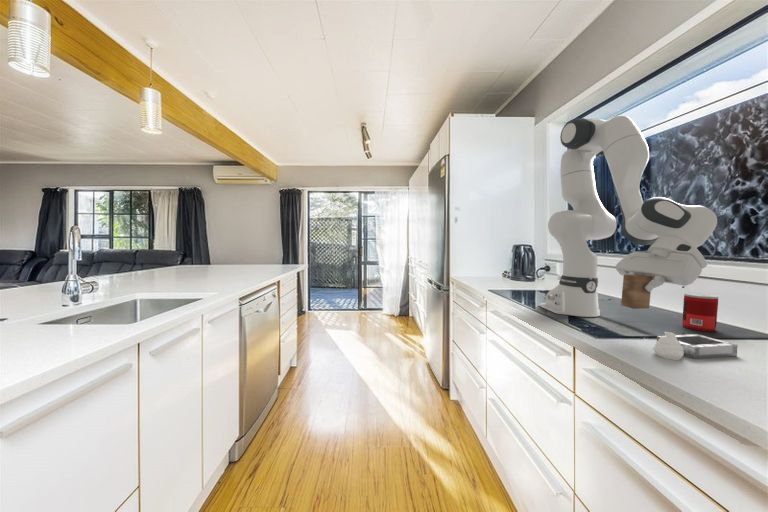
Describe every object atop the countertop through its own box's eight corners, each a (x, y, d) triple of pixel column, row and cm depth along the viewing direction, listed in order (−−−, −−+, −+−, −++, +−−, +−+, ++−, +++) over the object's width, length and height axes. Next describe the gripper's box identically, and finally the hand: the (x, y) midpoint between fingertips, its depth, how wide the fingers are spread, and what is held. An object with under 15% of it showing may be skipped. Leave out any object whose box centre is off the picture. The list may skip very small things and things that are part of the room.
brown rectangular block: (621, 305, 94) (623, 274, 93) (635, 304, 95) (638, 274, 94) (634, 308, 90) (636, 276, 89) (649, 308, 91) (652, 276, 90)
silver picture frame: (656, 346, 87) (657, 336, 87) (696, 344, 89) (696, 334, 89) (693, 358, 78) (694, 347, 78) (736, 356, 81) (737, 344, 80)
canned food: (722, 332, 102) (725, 297, 101) (692, 330, 103) (695, 296, 103) (704, 326, 109) (706, 293, 109) (676, 324, 111) (678, 292, 110)
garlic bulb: (676, 330, 81) (690, 336, 76) (675, 354, 82) (688, 361, 76) (650, 328, 83) (662, 334, 78) (649, 351, 83) (661, 359, 78)
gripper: (628, 243, 103) (599, 274, 102) (703, 247, 83) (667, 286, 82) (639, 257, 104) (610, 288, 103) (715, 265, 84) (679, 303, 83)
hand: (636, 287), depth 92 cm, fingers closed on brown rectangular block, 4 cm apart
